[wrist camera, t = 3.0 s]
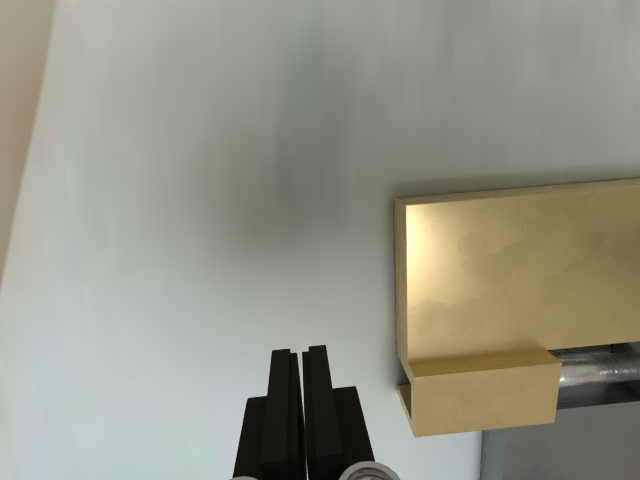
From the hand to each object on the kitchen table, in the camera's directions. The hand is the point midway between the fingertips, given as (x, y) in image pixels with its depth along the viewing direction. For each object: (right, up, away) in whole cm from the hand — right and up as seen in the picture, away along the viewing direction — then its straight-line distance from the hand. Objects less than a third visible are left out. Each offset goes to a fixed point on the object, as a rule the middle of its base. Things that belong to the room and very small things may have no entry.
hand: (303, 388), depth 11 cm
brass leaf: (+13, +1, +11) cm, 17 cm away
